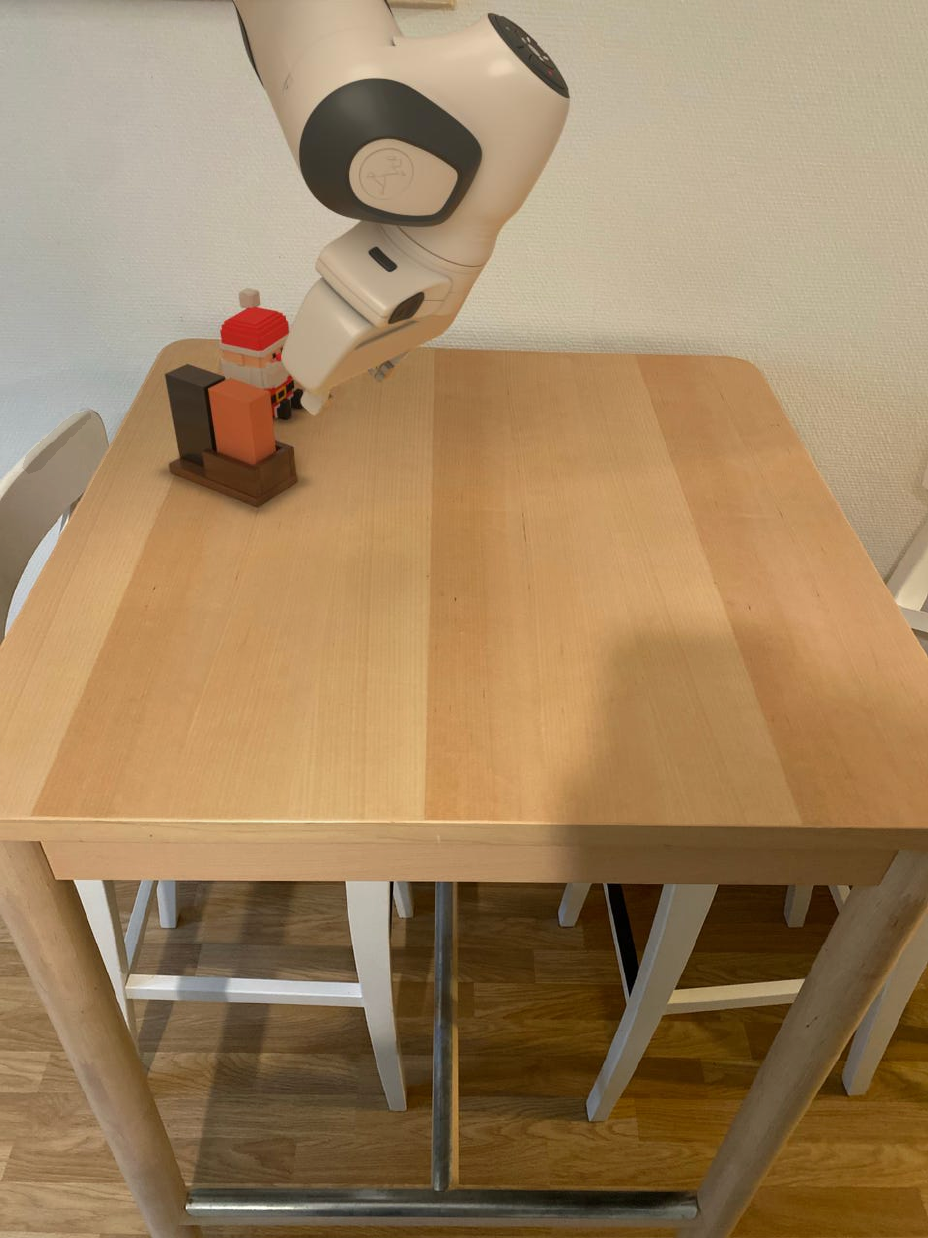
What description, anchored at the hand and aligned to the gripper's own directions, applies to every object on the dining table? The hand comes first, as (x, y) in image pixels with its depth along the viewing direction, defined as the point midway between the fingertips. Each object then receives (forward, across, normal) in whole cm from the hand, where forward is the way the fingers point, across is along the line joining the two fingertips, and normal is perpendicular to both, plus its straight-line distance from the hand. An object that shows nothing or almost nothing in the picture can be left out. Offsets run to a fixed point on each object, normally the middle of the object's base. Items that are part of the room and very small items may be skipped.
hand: (346, 390), depth 77 cm
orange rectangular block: (+17, -2, -5) cm, 18 cm away
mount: (+19, -2, -7) cm, 20 cm away
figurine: (+22, -16, -13) cm, 30 cm away
